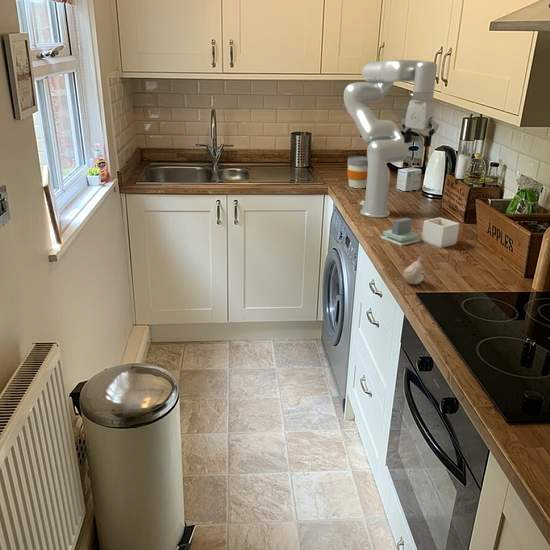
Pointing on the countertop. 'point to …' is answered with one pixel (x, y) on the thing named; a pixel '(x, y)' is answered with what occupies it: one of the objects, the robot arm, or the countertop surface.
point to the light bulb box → (408, 179)
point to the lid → (401, 230)
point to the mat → (400, 242)
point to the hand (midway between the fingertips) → (416, 144)
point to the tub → (440, 232)
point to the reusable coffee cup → (357, 171)
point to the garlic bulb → (414, 272)
